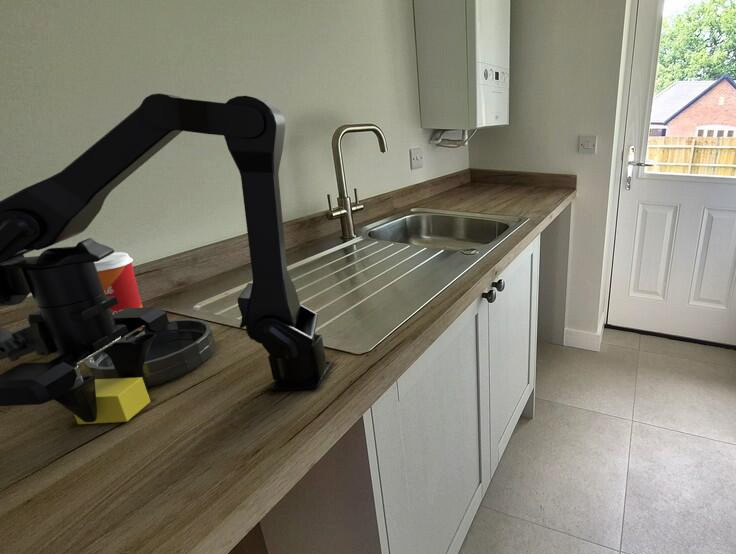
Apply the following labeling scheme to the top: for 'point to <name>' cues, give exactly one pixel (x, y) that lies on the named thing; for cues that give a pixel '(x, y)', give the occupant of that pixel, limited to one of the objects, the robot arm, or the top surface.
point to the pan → (165, 353)
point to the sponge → (118, 399)
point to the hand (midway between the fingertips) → (112, 405)
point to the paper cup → (119, 281)
